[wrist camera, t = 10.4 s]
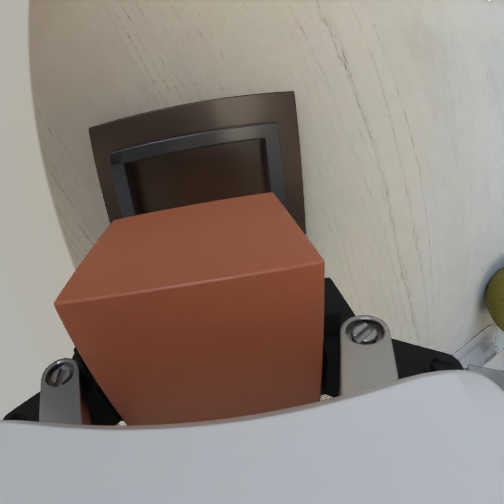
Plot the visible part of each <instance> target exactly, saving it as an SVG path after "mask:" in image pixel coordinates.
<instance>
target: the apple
mask: <svg viewBox="0 0 504 504" xmlns="http://www.w3.org/2000/svg"><path fill="white" fill-rule="evenodd" d="M486 301H487V306H488V310H489V313H490V315H491V317H492V319H493V320H494V322H495V323H496V325H497V326H498V327H499V328H500V329H501V330H502V331H504V268H502V269H500V270H499V271H498V272H497V273H495V275H494V276H493V277H492V279H491V281H490V282H489V284H488V287H487V291H486Z"/></svg>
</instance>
